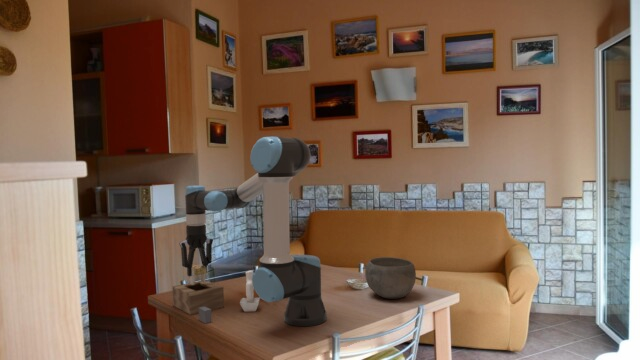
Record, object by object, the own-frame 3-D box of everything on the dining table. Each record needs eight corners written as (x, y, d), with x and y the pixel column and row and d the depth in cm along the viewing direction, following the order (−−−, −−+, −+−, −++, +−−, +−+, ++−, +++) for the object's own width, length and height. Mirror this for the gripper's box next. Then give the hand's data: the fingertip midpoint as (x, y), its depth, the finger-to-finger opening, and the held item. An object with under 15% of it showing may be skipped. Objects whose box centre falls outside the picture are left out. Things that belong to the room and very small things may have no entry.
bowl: (426, 299, 185) (425, 262, 184) (381, 306, 177) (380, 268, 177) (398, 287, 204) (398, 254, 204) (357, 293, 196) (356, 258, 196)
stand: (211, 321, 163) (211, 309, 163) (205, 323, 161) (204, 310, 161) (205, 318, 167) (204, 306, 167) (198, 320, 165) (198, 307, 165)
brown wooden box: (223, 307, 180) (223, 287, 180) (190, 315, 171) (189, 294, 171) (205, 299, 192) (204, 280, 192) (173, 306, 183) (172, 286, 183)
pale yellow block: (206, 273, 180) (206, 267, 180) (197, 275, 177) (196, 268, 177) (197, 270, 186) (197, 264, 186) (188, 271, 183) (187, 265, 183)
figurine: (239, 313, 171) (238, 274, 171) (242, 306, 181) (241, 268, 181) (259, 313, 172) (258, 273, 172) (260, 305, 181) (259, 268, 181)
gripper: (211, 221, 189) (212, 277, 190) (171, 225, 178) (172, 285, 179) (220, 223, 183) (221, 281, 184) (179, 227, 172) (180, 288, 173)
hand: (197, 282), depth 181 cm, fingers closed on pale yellow block, 4 cm apart
